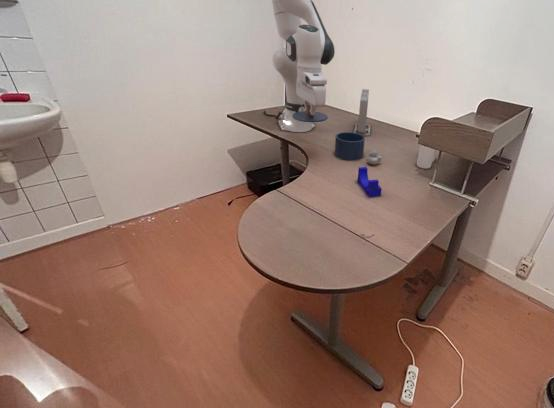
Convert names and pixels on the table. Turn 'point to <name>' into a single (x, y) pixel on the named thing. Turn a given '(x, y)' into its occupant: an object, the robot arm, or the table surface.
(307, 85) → the robot arm
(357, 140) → the pail
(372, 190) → the blue l-shaped block
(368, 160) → the rubber duck
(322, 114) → the pail lid
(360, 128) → the network device
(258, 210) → the table surface
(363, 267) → the table surface
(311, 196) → the table surface
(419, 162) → the can
